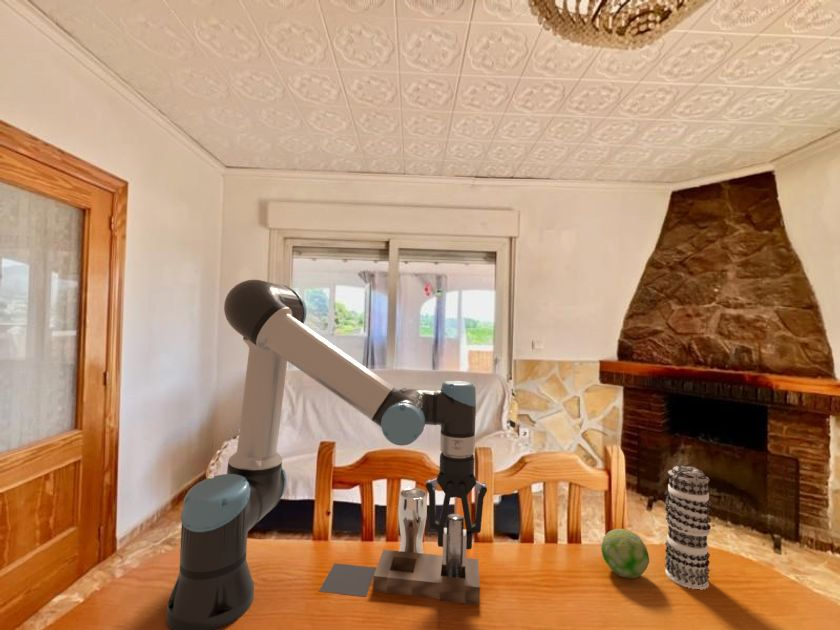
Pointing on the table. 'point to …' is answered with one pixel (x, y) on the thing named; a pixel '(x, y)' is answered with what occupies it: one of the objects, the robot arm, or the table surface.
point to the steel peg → (454, 545)
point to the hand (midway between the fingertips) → (454, 561)
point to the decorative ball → (625, 553)
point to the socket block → (426, 577)
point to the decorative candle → (687, 527)
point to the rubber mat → (348, 580)
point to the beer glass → (412, 519)
